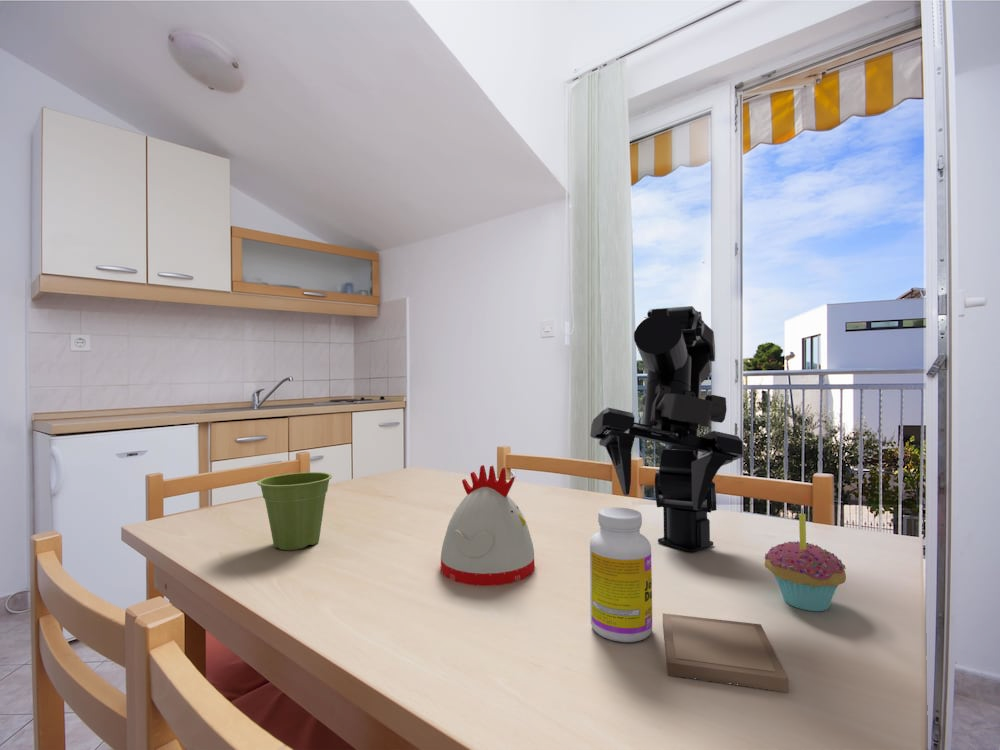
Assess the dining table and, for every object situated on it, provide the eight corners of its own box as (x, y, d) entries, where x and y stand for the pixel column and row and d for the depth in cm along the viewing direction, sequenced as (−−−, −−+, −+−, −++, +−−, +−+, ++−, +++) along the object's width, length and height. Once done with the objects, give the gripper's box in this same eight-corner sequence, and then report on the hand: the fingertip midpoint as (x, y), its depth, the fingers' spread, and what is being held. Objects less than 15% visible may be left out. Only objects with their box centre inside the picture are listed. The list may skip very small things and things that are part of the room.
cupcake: (849, 626, 55) (847, 517, 55) (762, 608, 59) (760, 507, 59) (844, 596, 62) (842, 501, 62) (767, 582, 66) (766, 493, 67)
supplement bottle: (655, 648, 51) (654, 522, 51) (590, 642, 52) (588, 519, 52) (649, 617, 57) (647, 506, 57) (591, 612, 59) (589, 503, 59)
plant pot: (323, 529, 93) (322, 469, 93) (340, 546, 83) (340, 479, 83) (253, 541, 86) (252, 476, 86) (263, 561, 76) (262, 488, 76)
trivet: (662, 624, 56) (662, 612, 56) (761, 635, 53) (760, 623, 53) (667, 675, 46) (667, 661, 46) (788, 692, 43) (788, 678, 43)
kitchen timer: (517, 592, 65) (516, 477, 65) (424, 578, 69) (423, 471, 70) (544, 556, 78) (543, 460, 78) (464, 546, 82) (464, 456, 83)
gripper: (623, 349, 60) (610, 475, 54) (769, 382, 61) (773, 510, 55) (595, 381, 70) (582, 491, 64) (720, 409, 71) (719, 520, 65)
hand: (661, 502), depth 62 cm, fingers open, 9 cm apart
